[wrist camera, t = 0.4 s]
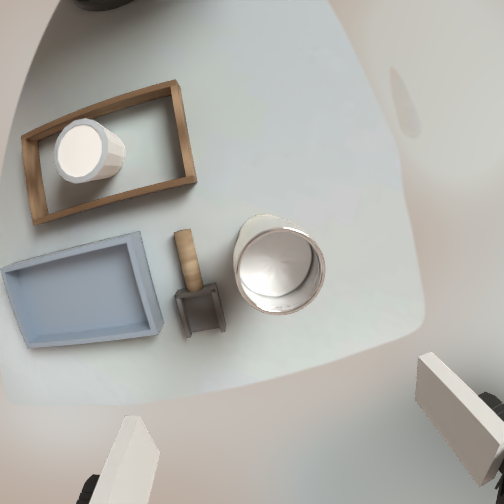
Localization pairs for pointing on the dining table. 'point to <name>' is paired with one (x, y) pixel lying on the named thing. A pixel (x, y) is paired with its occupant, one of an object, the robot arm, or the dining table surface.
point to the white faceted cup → (87, 152)
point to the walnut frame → (92, 112)
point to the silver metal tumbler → (277, 265)
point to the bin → (85, 294)
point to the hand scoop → (196, 291)
